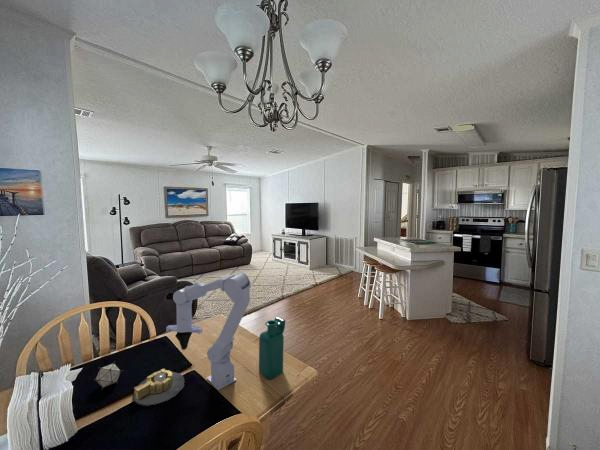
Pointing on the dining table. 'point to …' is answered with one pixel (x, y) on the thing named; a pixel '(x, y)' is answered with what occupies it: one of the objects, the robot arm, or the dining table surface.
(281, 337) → the green flip-top bottle
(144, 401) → the flange
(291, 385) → the dining table surface
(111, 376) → the game die
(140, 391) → the yellow toy key
